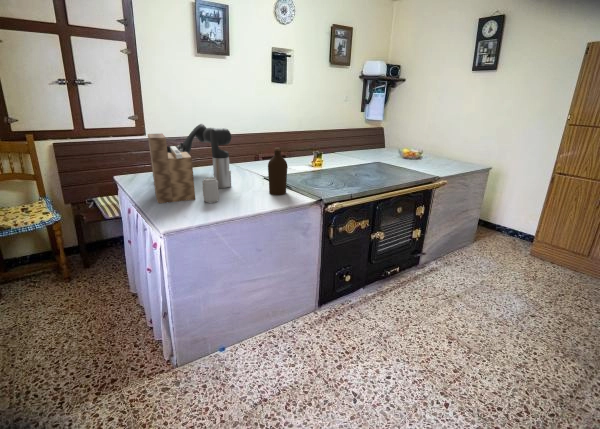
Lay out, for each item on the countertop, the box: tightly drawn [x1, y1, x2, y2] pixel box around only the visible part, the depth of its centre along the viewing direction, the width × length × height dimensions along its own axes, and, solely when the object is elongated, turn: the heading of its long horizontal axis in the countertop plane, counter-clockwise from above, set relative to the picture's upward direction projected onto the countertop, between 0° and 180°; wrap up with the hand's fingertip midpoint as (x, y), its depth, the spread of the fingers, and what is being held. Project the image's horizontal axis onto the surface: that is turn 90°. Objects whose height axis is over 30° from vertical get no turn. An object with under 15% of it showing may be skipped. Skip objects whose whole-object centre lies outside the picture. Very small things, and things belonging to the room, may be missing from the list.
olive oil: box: [267, 147, 288, 196], centre depth 187 cm, size 11×11×25 cm
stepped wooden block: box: [147, 132, 196, 204], centre depth 175 cm, size 18×16×32 cm
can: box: [202, 176, 220, 204], centre depth 173 cm, size 8×8×12 cm
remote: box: [169, 145, 182, 159], centre depth 177 cm, size 3×26×2 cm, turn 26°
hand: (173, 144), depth 183 cm, fingers open, 8 cm apart
